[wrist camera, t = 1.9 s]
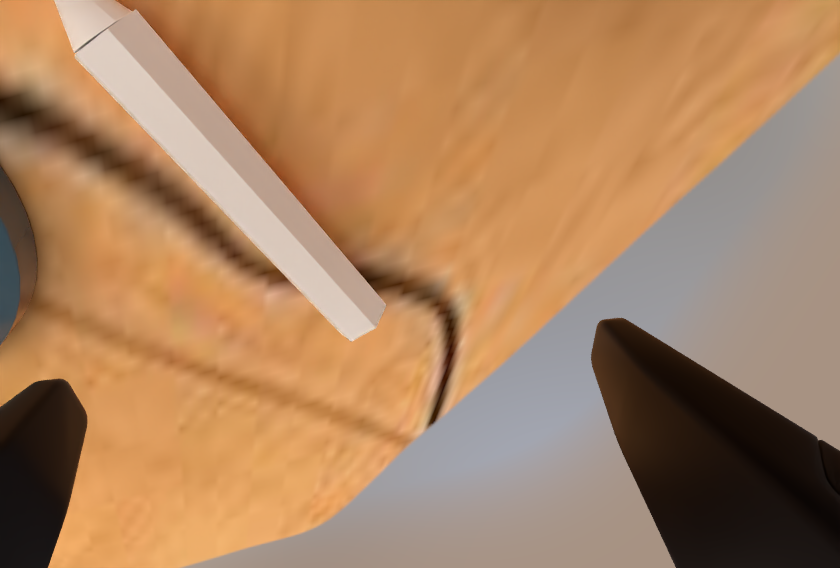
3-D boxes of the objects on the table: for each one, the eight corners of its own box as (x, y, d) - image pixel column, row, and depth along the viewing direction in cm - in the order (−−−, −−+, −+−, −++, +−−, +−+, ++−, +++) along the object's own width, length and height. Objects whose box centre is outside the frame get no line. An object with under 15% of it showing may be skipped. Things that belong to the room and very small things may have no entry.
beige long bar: (50, -73, 15) (367, 293, 24) (-13, -30, 15) (333, 327, 24) (47, -103, 13) (396, 310, 22) (-27, -55, 13) (359, 348, 21)
